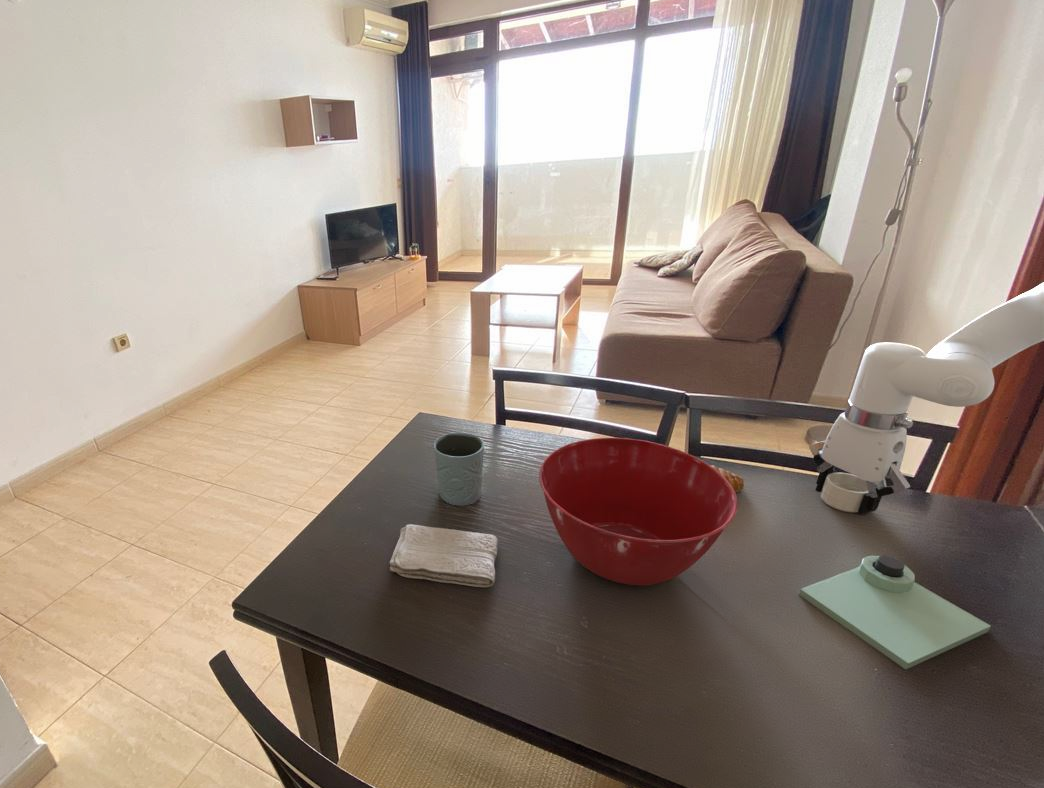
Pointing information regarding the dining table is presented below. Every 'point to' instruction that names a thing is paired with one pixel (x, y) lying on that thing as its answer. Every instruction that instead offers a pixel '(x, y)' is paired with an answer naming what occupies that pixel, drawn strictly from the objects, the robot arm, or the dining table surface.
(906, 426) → the robot arm
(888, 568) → the button
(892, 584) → the scale
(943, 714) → the dining table surface
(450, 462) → the grey green cup
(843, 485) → the bowl
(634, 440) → the mixing bowl
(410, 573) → the washcloth
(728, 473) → the pastry
